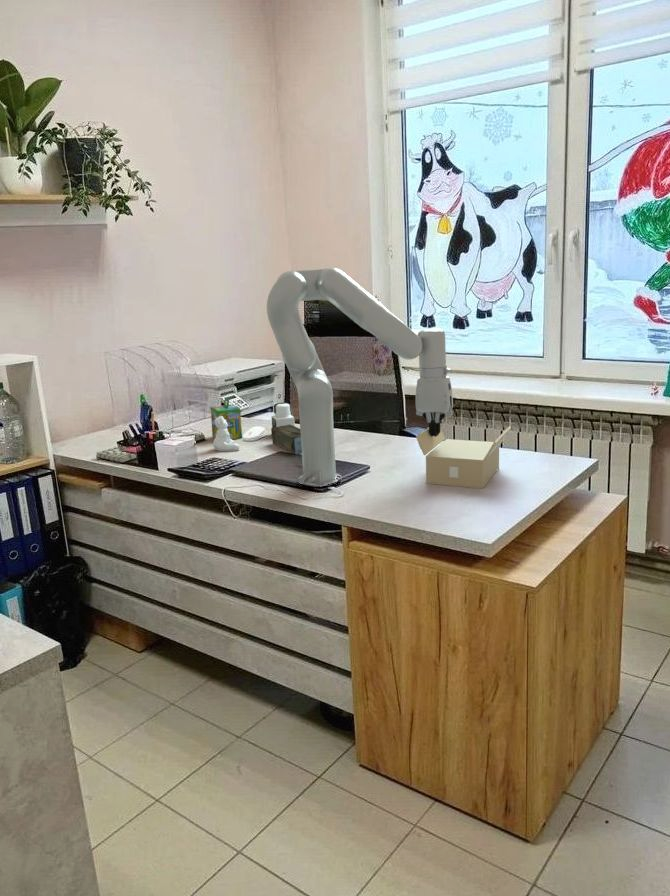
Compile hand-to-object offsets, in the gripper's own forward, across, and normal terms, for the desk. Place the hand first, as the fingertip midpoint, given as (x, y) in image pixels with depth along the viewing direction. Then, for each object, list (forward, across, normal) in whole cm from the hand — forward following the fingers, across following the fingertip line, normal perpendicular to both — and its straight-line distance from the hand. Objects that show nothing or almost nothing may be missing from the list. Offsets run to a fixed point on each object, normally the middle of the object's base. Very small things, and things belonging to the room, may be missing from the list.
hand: (434, 435), depth 210 cm
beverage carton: (+11, +57, -16) cm, 60 cm away
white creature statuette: (+10, +79, -7) cm, 80 cm away
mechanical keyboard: (+11, +105, -1) cm, 106 cm away
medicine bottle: (+11, +69, -31) cm, 76 cm away
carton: (+12, -8, 0) cm, 14 cm away
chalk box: (+10, +88, -22) cm, 91 cm away
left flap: (+1, +1, 0) cm, 1 cm away
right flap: (+1, -18, 0) cm, 18 cm away
